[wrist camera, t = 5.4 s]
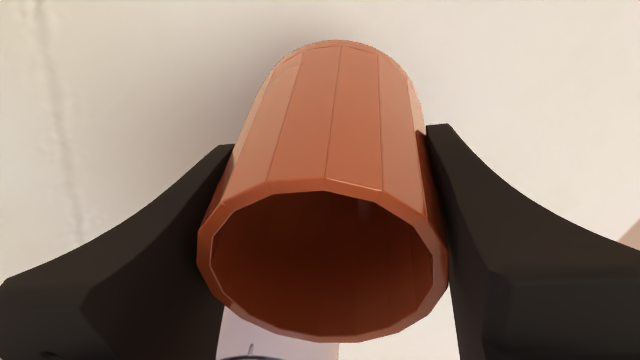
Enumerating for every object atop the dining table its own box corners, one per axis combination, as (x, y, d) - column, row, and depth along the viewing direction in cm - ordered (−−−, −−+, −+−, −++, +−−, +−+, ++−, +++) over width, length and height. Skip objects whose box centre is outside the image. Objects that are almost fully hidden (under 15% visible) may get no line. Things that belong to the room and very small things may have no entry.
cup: (421, 174, 16) (447, 342, 11) (278, 185, 17) (237, 344, 12) (417, 27, 13) (451, 167, 7) (238, 51, 14) (155, 190, 8)
